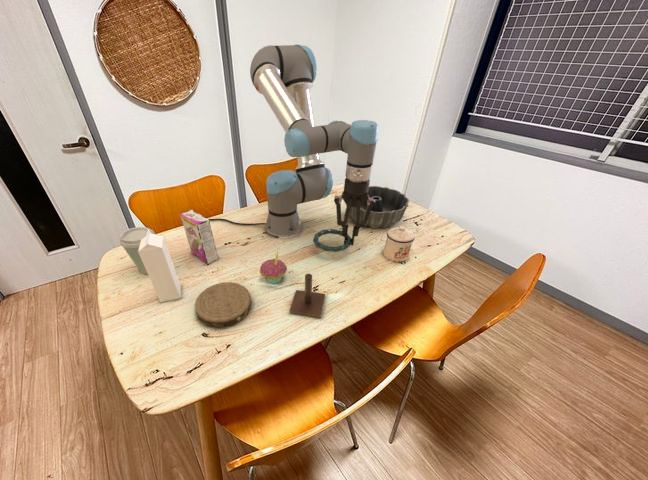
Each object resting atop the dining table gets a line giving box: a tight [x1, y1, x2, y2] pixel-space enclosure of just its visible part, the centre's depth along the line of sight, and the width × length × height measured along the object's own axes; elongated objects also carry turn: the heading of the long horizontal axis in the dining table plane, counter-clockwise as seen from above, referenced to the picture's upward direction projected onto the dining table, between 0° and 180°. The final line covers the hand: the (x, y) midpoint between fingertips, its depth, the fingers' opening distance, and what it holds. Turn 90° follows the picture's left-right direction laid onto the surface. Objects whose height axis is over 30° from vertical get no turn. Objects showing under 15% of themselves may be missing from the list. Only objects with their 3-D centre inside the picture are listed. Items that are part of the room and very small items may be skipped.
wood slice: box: [194, 281, 252, 329], centre depth 81 cm, size 16×16×3 cm
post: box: [289, 273, 326, 319], centre depth 79 cm, size 9×9×11 cm
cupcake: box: [259, 251, 288, 285], centre depth 88 cm, size 9×8×12 cm
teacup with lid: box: [383, 225, 416, 263], centre depth 98 cm, size 12×9×12 cm
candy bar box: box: [179, 209, 219, 265], centre depth 98 cm, size 11×5×16 cm, turn 47°
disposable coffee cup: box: [118, 226, 156, 275], centre depth 93 cm, size 11×11×15 cm
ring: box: [312, 228, 352, 253], centre depth 100 cm, size 14×14×2 cm
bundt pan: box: [345, 185, 410, 229], centre depth 120 cm, size 26×26×10 cm
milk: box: [138, 228, 182, 303], centre depth 80 cm, size 6×6×22 cm
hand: (348, 242), depth 99 cm, fingers closed on ring, 2 cm apart
